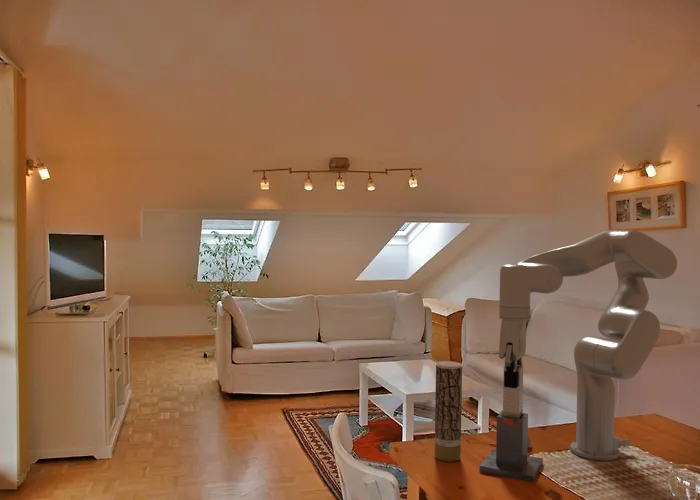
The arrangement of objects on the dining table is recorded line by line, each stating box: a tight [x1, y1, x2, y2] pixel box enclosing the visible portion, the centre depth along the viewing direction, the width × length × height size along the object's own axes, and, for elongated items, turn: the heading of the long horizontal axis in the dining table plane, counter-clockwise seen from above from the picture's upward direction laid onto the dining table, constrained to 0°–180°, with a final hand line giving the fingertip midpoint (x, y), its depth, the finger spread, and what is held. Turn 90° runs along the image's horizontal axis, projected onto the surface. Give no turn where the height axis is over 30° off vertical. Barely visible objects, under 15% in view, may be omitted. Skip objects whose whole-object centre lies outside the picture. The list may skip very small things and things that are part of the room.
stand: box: [479, 409, 544, 483], centre depth 148 cm, size 13×13×14 cm
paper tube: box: [434, 360, 463, 463], centre depth 154 cm, size 7×7×25 cm
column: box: [501, 364, 524, 419], centre depth 148 cm, size 4×4×18 cm
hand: (513, 384), depth 148 cm, fingers open, 5 cm apart
